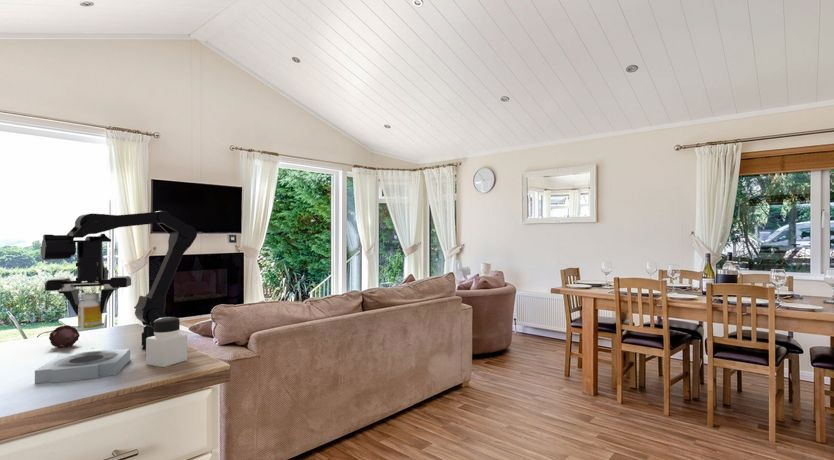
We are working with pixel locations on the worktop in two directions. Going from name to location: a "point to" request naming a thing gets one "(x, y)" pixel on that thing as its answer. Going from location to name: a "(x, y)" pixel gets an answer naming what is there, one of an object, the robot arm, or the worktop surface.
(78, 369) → the socket block
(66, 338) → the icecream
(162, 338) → the medicine bottle
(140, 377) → the worktop surface
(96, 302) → the supplement bottle
